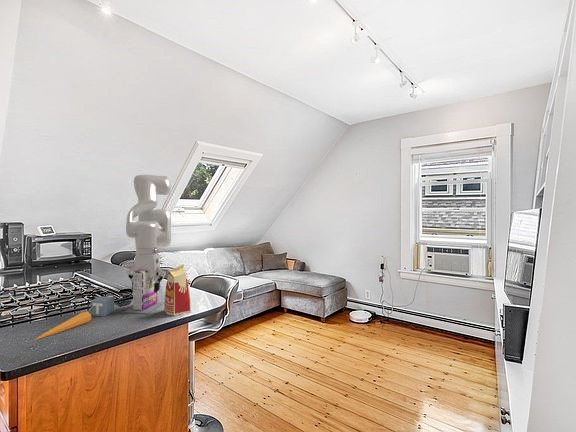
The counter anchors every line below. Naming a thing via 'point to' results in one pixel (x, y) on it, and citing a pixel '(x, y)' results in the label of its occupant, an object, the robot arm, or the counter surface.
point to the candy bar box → (143, 291)
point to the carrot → (69, 324)
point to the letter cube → (102, 306)
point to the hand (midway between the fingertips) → (145, 290)
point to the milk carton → (177, 292)
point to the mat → (145, 309)
